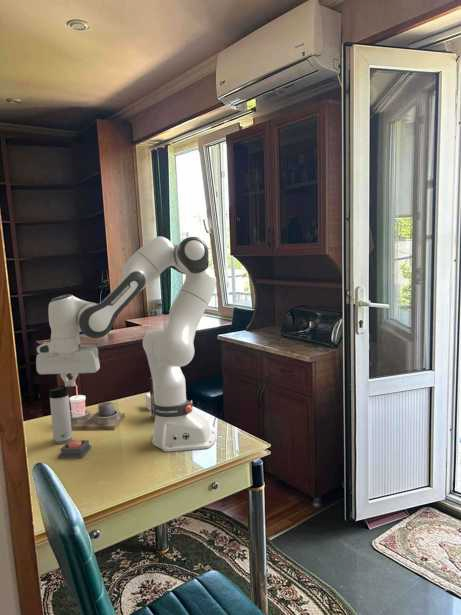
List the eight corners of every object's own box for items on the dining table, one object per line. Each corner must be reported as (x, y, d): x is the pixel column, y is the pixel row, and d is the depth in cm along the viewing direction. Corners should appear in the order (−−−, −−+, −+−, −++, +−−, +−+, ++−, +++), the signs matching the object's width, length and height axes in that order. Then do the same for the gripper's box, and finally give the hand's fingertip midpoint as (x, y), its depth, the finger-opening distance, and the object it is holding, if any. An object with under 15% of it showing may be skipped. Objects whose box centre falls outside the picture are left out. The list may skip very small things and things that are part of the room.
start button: (84, 446, 159) (83, 439, 158) (79, 451, 154) (78, 445, 154) (71, 446, 159) (71, 439, 159) (66, 451, 155) (65, 445, 154)
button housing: (91, 447, 161) (90, 439, 160) (82, 458, 153) (81, 449, 152) (69, 447, 161) (68, 439, 161) (58, 458, 153) (58, 449, 153)
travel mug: (67, 444, 164) (62, 389, 161) (50, 443, 165) (45, 389, 162) (76, 437, 170) (71, 384, 167) (59, 436, 171) (55, 383, 168)
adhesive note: (159, 404, 202) (159, 391, 201) (164, 408, 197) (163, 395, 196) (146, 407, 199) (145, 393, 198) (150, 411, 194) (150, 397, 193)
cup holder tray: (124, 416, 188) (123, 399, 187) (114, 429, 176) (113, 410, 175) (72, 417, 190) (70, 399, 189) (58, 429, 177) (56, 411, 176)
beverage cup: (89, 420, 182) (86, 385, 180) (73, 423, 179) (70, 388, 177) (84, 415, 187) (82, 381, 186) (69, 419, 184) (66, 384, 182)
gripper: (100, 341, 154) (104, 382, 156) (41, 343, 156) (45, 383, 158) (93, 346, 148) (97, 388, 150) (31, 348, 150) (36, 389, 152)
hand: (70, 385), depth 154 cm, fingers closed
